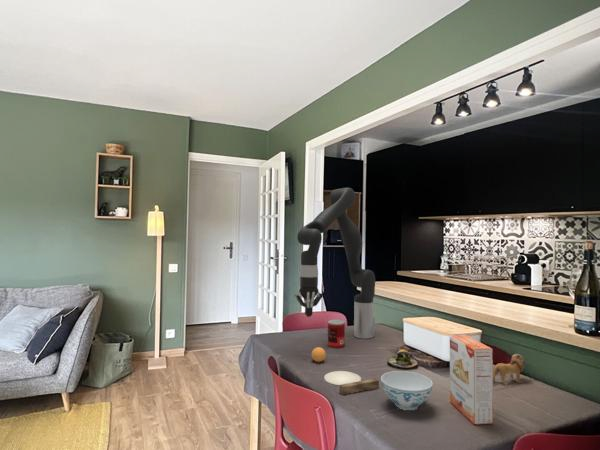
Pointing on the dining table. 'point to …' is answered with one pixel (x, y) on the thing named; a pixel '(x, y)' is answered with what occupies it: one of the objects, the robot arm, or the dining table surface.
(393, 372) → the chinaware
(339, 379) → the disc
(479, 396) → the cracker box
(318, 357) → the ball
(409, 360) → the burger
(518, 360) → the lion figurine
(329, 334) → the canned food
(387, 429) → the dining table surface
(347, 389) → the strip
